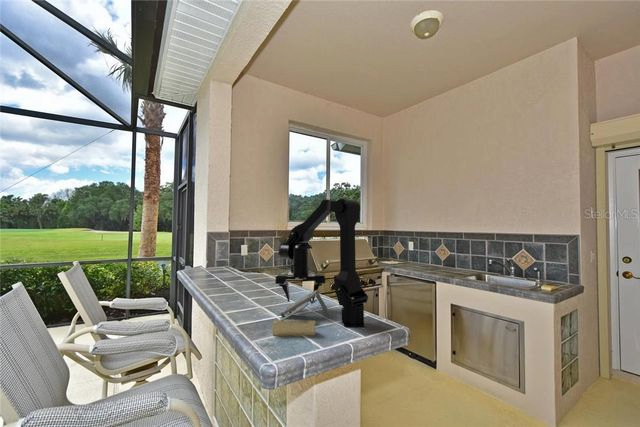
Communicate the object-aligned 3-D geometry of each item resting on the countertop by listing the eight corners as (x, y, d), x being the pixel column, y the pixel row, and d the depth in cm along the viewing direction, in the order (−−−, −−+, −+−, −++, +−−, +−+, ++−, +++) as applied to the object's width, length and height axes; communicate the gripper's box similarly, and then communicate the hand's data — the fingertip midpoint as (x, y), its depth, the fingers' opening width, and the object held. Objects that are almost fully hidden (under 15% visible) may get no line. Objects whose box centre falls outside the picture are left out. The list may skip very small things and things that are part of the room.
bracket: (332, 324, 89) (317, 296, 90) (293, 347, 89) (277, 320, 89) (330, 313, 100) (316, 289, 100) (295, 334, 99) (280, 310, 99)
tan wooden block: (315, 331, 83) (315, 319, 83) (315, 335, 80) (315, 322, 80) (274, 331, 83) (274, 319, 83) (272, 335, 80) (272, 323, 80)
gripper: (324, 257, 116) (325, 296, 115) (279, 258, 116) (279, 296, 116) (325, 261, 105) (325, 303, 104) (275, 261, 105) (275, 304, 104)
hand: (301, 301), depth 107 cm, fingers open, 9 cm apart
